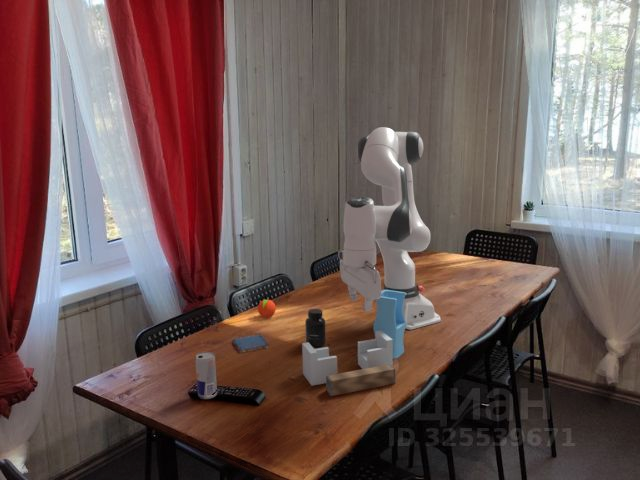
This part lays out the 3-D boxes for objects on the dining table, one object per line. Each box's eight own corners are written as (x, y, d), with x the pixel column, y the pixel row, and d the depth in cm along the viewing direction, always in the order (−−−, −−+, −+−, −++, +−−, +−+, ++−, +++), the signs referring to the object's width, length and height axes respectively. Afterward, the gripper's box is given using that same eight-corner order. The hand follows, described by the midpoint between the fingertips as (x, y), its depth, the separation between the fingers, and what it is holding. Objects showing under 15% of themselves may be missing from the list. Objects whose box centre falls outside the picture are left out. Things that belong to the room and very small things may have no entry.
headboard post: (381, 359, 180) (381, 330, 178) (392, 370, 172) (392, 339, 170) (357, 364, 177) (357, 334, 175) (368, 374, 170) (368, 343, 168)
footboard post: (328, 369, 174) (327, 339, 172) (337, 380, 167) (336, 349, 164) (303, 374, 171) (302, 343, 169) (311, 385, 164) (310, 353, 162)
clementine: (272, 321, 215) (271, 303, 214) (255, 320, 217) (254, 303, 215) (278, 314, 223) (277, 297, 222) (261, 313, 225) (260, 296, 223)
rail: (389, 378, 168) (390, 364, 167) (395, 383, 164) (395, 368, 163) (326, 390, 161) (326, 375, 160) (330, 396, 158) (330, 381, 157)
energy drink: (199, 391, 163) (196, 352, 160) (218, 389, 163) (215, 351, 160) (197, 400, 157) (193, 360, 155) (216, 399, 158) (213, 359, 155)
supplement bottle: (311, 349, 189) (310, 315, 186) (302, 342, 195) (301, 309, 192) (329, 345, 192) (328, 312, 189) (320, 338, 198) (319, 306, 195)
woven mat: (231, 343, 197) (230, 338, 196) (260, 338, 201) (260, 333, 200) (239, 355, 187) (238, 349, 187) (269, 349, 191) (269, 343, 191)
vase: (395, 359, 180) (396, 299, 175) (373, 354, 184) (373, 295, 180) (405, 350, 186) (406, 292, 182) (384, 346, 190) (384, 289, 186)
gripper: (387, 265, 146) (387, 316, 149) (356, 248, 165) (356, 293, 168) (364, 268, 144) (365, 319, 147) (335, 250, 163) (336, 296, 166)
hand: (360, 305), depth 157 cm, fingers open, 8 cm apart
